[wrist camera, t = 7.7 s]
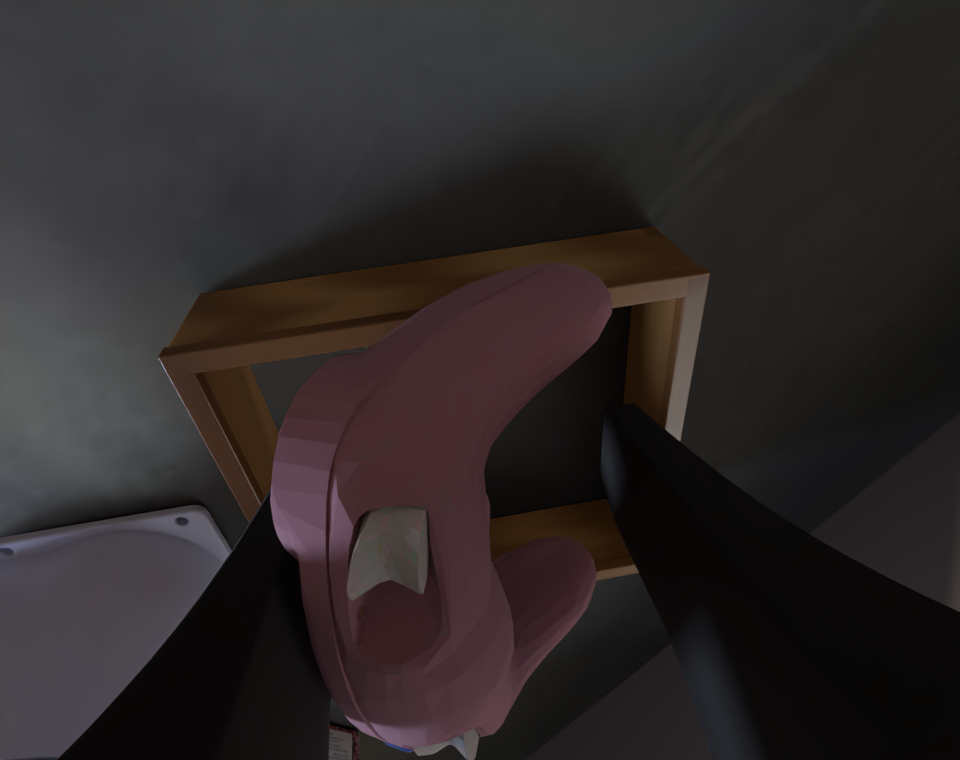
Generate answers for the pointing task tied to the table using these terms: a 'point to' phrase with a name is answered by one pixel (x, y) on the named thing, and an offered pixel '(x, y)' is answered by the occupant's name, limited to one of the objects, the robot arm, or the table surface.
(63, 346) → the table surface
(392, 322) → the wooden frame
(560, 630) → the video game controller
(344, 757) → the snack box
